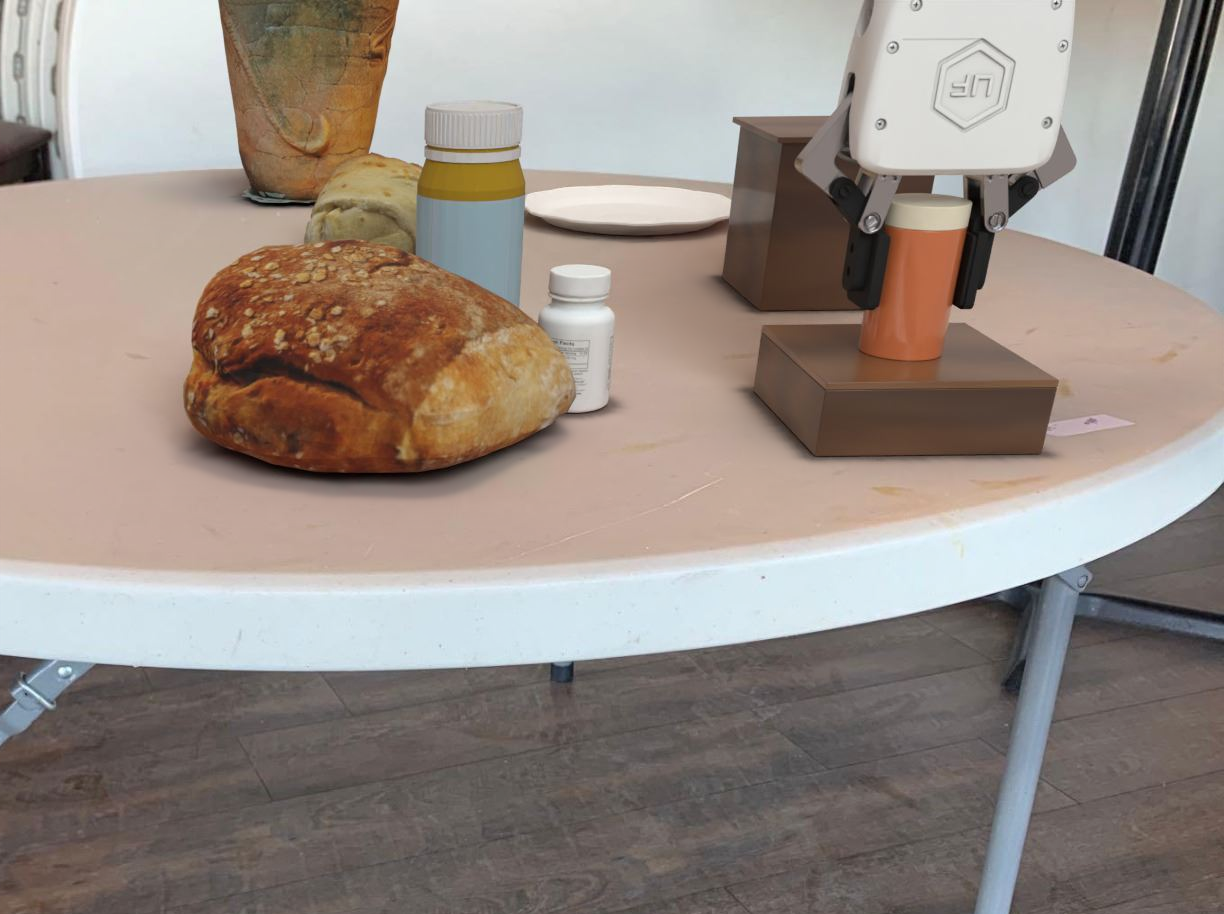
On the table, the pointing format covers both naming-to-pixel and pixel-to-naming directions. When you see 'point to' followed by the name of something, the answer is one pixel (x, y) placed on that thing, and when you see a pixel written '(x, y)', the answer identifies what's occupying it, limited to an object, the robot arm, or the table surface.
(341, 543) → the table surface
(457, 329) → the bread
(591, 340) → the pill bottle
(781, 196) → the wooden cabinet block
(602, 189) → the plate
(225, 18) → the vase
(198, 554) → the table surface
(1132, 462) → the table surface
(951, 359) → the wooden lidded box
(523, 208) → the bottle
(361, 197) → the pastry
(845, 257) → the robot arm
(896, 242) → the spice jar
